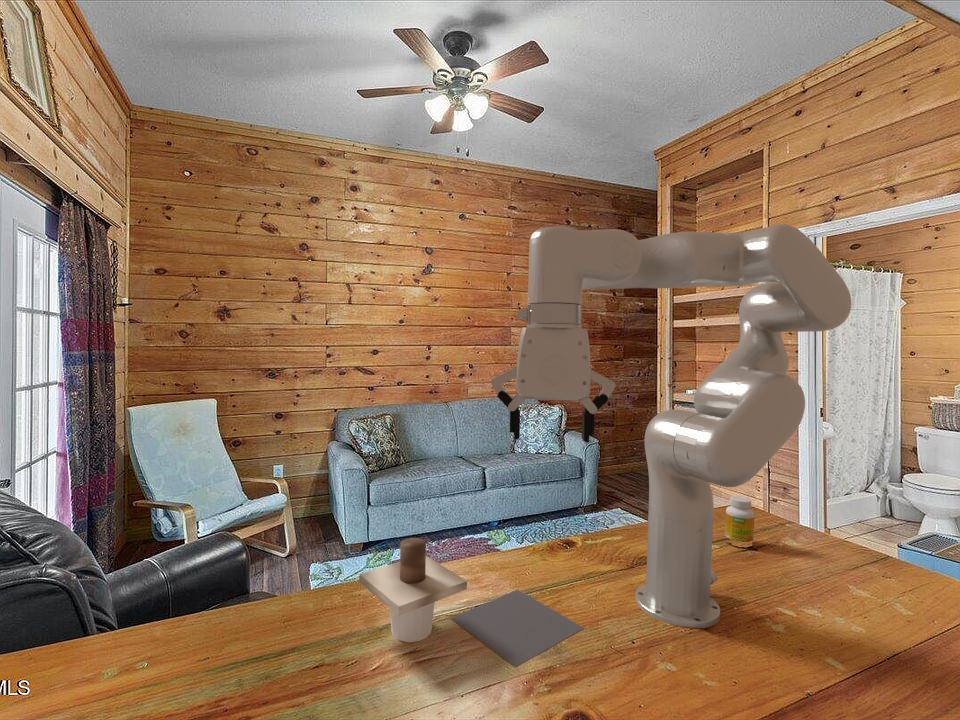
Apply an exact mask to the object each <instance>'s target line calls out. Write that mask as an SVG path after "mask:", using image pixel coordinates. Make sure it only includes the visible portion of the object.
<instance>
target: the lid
mask: <svg viewBox="0 0 960 720" xmlns="http://www.w3.org/2000/svg"><path fill="white" fill-rule="evenodd" d="M399 544H400V545H399V548H400V549H399V551H400V552H399V554H400V555H399V561H398V562H394V563H391V564H388V565H384V566H381V567H379V568H375V569H372V570H368V571H365V572H362V573H359V583H360V584H361V585H362V586H363V587H364V588H365V589H367V591H369V592H370V593H371V594H372V595H373V596H375V597H376V598H377V599H378V600H379V601H380V602H382V604H384V605H385V606H386V607H388V608H389V610H390V609H391V610H392V611H394V612H395V613H396V614H397V615H398V616H400V615H402V614H405V613H407V612H410V611H413V610H415V609H418V608H420V607H423V606H425V605H428V604H431V603H433V602H438V601H440V600H441V601H442V600H443V599H446V598H448V597H451V596H453V595H456V594H458V593H461V592H464V591H466V590H468V589H467V588H468V581H467V580H466V579H465V578H463V577H461V576H460V575H458V574H456V573H455V572H453V571H451V570H450V569H449V568H447V567H446V566H444V565H442V564H440V563H439V562H437V561H436V560H434V559H433V558H431V557H429V556H428V555H427V542H426V540H425V539H423V538H419V537H409V538H404V539H403V540H401V541H400V543H399Z"/></svg>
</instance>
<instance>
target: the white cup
mask: <svg viewBox="0 0 960 720" xmlns="http://www.w3.org/2000/svg"><path fill="white" fill-rule="evenodd" d="M434 610H435V602H433V603H431V604H428V605H425V606H423V607H420V608H418V609H415V610H413V611H410V612H407V613H405V614H402V615H400V616H398V615H397V614H396V613H395V612H394V611H392V610H391V609H390V608H389V617H390V628H391V630H390V631H391V634H392V636H393V638H395V639H396V640H398V641H400V642H405V643H415V642H419V641H422V640H425V639H426V638H428V637H429V636H430V635H431V633H432V629H433V623H434V622H433V619H434Z"/></svg>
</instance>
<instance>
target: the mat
mask: <svg viewBox="0 0 960 720" xmlns="http://www.w3.org/2000/svg"><path fill="white" fill-rule="evenodd" d="M449 619H450V620H451V621H452V622H453V623H455V624H456V625H458V626H459V627H461V628H462V629H463V630H464V631H466V632H467V633H469V635H471V636H472V637H474V638H475V639H476V640H478V641H479V642H481V643H482V644H483V645H484V646H485V647H487V648H489V649H490V650H491V651H493V652H494V653H495V654H496V655H498V656H499V657H500V658H502V659H503V660H505V661H506V662H508V664H510V665H511V666H512V667H514V668H517V667H518V666H520V665H522V664H523V663H526V662H527V661H529V660H531V659H533V658H534V657H536V656H539V654H542V653H543V652H545V651H547V650H549V649H551V648H552V647H554V646H556V645H558V644H560V643H561V642H562V641H565V640H567V639H568V638H570V637H572V636H573V635H575V634H577V633H579V632H581V631H582V630H584V629H585V627H584V626H581V625H580V624H578V623H576V621H575V622H574V621H573V620H571V619H570V618H567V617H566V616H564V615H563V614H561V613H559V612H557V611H555V610H554V609H552V608H550V607H549V606H547V605H545V604H544V603H542V602H540V601H538V600H536V599H534V598H533V597H531V596H529V595H528V594H527V593H526V594H525V593H524V592H522V591H521V590H519V589H515V590H514V591H511V592H509V593H506V594H504V595H502V596H499V597H497V598H495V599H492V600H489V601H488V602H485V603H482V604H480V605H478V606H476V607H474V608H471V609H469V610H466V611H464V612H461V613H459V614H457V615H454V616H452V617H450V618H449Z"/></svg>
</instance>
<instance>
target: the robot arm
mask: <svg viewBox="0 0 960 720" xmlns="http://www.w3.org/2000/svg"><path fill="white" fill-rule="evenodd" d="M528 243H529V244H528V247H529V248H528V282H527V284H528V287H527V288H528V290H527V307H525V308H522V309H517V311H516V312H517V313H516V314H517V320H522V321H525V322H526V323H527V325H526V327H522V328H521V331H520V336H519V341H518V347H517V361H516V366H515V367H514V368H511V369H509V370H507V371H505V372H503V373H500V374H498V375H497V376H494V377H492V378H491V381H490V383H491V385H492V388H493V389H494V391H495V393H496V395H497V397H498V400H500V402H502V404H503V405H504V406H505V407H506V408H507V409H508V410H509V433H513V434H514V440H515V441H518V440H520V437H521V436H520V434H521V433H520V431H521V430H520V429H521V409H520V405H521V404H522V403H524V401H525V400H526V399H528V400H541V401H543V400H545V401H579V402H580V403H581V404H582V405H583V407H584V410H583V411H582V414H581V439H582V441H583V442H584V443H590V437H591V436H592V437H593V436H594V435H595V414H596V413H598V411H599V410H600V409H601V408H602V407H603V406H604V405H605V404H606V403H607V402H608V400H609V398H610V397H611V395H612V393H613V392H614V390H615V388H616V386H617V385H616V382H614V381H613V380H611V379H610V378H607V377H605V376H604V375H602V374H600V373H598V372H596V371H595V370H593V369H591V351H590V341H589V334H588V329H587V328H582V316H583V315H582V314H583V313H582V310H583V309H582V308H583V306H582V304H583V290H615V289H616V290H618V289H619V290H620V289H672V288H673V289H675V288H678V289H679V288H681V289H682V288H700V287H701V288H703V287H704V288H707V287H711V288H712V287H715V288H717V287H718V288H720V287H721V288H722V287H723V288H724V287H725V288H726V287H727V288H728V287H729V288H730V287H743V286H745V287H746V286H753V285H756V286H754V287H752V288H750V289H749V290H748V291H747V292H746V293H745V294H744V295H743V297H742V299H741V301H740V304H739V308H738V319H739V320H738V321H739V329H740V330H739V331H740V332H739V337H740V338H739V341H738V344H737V346H736V347H735V348H734V350H733V351H732V352H731V353H730V354H729V355H728V356H727V357H726V358H725V359H724V360H723V361H722V362H721V363H720V364H719V365H718V366H717V367H715V369H714V370H713V371H711V373H710V374H709V375H708V376H706V378H704V380H703V381H701V383H700V384H699V386H698V387H697V389H696V391H695V392H694V396H693V406H694V408H695V411H696V412H694V411H690V410H684V409H669V410H668V409H667V410H664V411H662V412H660V413H658V414H656V415H655V416H654V417H653V418H652V419H650V421H649V423H648V425H647V426H646V429H645V434H644V452H645V456H646V457H645V458H646V462H647V463H646V464H647V470H648V471H647V472H648V484H649V485H648V489H649V490H648V492H649V493H648V512H647V515H648V516H647V543H646V545H647V546H646V570H645V571H646V575H645V576H646V577H645V583H643V584H642V585H641V586H639V587H637V589H636V590H635V602H636V604H637V606H638V607H639V608H640V609H641V610H642V611H643V612H644V613H646V614H647V615H649V616H650V617H652V618H654V619H656V620H658V621H661V622H663V623H666V624H668V625H672V626H676V627H681V628H689V629H691V628H692V629H693V628H694V629H697V628H698V629H700V628H702V629H706V627H707V628H710V627H709V626H711V627H713V626H715V625H716V624H717V623H718V622H719V621H720V619H721V607H720V605H719V604H718V603H717V601H716V600H715V599H714V598H713V597H712V596H711V586H712V585H713V584H714V583H716V582H717V581H718V575H717V573H716V572H715V571H714V570H712V555H713V554H712V553H713V552H712V551H713V530H714V528H713V527H714V513H715V512H714V511H715V510H714V507H715V506H714V505H715V504H714V497H713V491H712V487H711V485H710V484H714V485H716V486H718V487H720V486H721V487H723V488H724V487H725V488H735V487H740V486H742V485H743V484H746V483H747V482H749V481H751V480H752V479H753V478H754V477H755V476H756V475H757V474H758V473H759V472H760V471H761V470H762V468H764V466H766V465H767V463H768V462H769V461H770V460H771V459H772V458H773V457H774V456H775V455H776V453H778V451H779V450H780V449H781V448H783V446H784V445H785V443H787V441H788V440H789V439H791V437H792V436H793V434H794V433H795V432H796V431H797V430H798V428H799V426H800V425H801V423H802V420H803V418H804V413H805V409H806V398H805V393H804V390H803V388H802V387H801V385H800V384H799V383H798V382H797V380H795V379H794V378H793V377H791V376H789V375H787V372H788V370H789V367H790V359H789V355H788V352H787V350H786V348H785V344H784V340H783V334H782V333H787V332H789V333H790V332H791V333H793V332H794V333H795V332H796V333H797V332H798V333H799V332H801V333H802V332H805V333H807V332H808V333H809V332H825V331H826V332H827V331H830V330H834V329H836V328H838V327H840V326H841V325H843V323H845V321H846V320H847V319H848V318H849V315H850V313H851V309H852V296H851V293H850V290H849V287H848V285H847V284H846V282H845V281H844V279H843V278H842V277H841V275H840V274H839V272H837V270H836V269H835V268H834V266H833V265H832V264H831V263H830V262H829V260H828V258H826V256H825V255H824V254H823V252H822V251H821V250H820V248H819V247H817V246H816V244H815V243H814V242H813V241H812V240H811V238H809V236H807V235H806V234H805V233H804V232H802V231H801V230H799V229H798V228H796V227H795V226H792V225H790V224H787V223H786V224H785V223H782V224H781V223H780V224H774V225H770V226H766V227H761V228H758V229H757V228H756V229H752V230H749V231H745V232H744V231H743V232H708V231H678V232H670V233H665V234H661V235H657V236H652V237H648V238H645V239H638V238H637V237H636V236H634V234H633V233H630V232H628V231H626V230H622V229H620V228H619V229H617V228H607V229H606V228H605V229H593V230H592V229H589V230H587V229H586V230H585V229H583V230H582V229H581V230H579V229H576V228H573V227H570V226H556V225H555V226H545V227H541V228H539V229H536V230H535V231H534V232H532V234H531V235H530V238H529V242H528ZM514 378H516V379H515V387H516V388H515V389H516V392H517V393H516V394H515V395H514V396H513V397H511V396H510V394H509V393H508V392H507V391H506V390H505V388H504V383H507V382H509V381H511V380H513V379H514ZM591 381H593V382H595V383H597V384H599V385H600V386H601V387H602V388H601V391H600V392H599V394H598V395H597V396H596V397H595V398H593V399H591V398H590V394H591V383H592V382H591ZM719 618H720V619H719ZM718 620H719V621H718ZM715 623H716V624H715ZM714 624H715V625H714ZM712 625H713V626H712Z"/></svg>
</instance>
